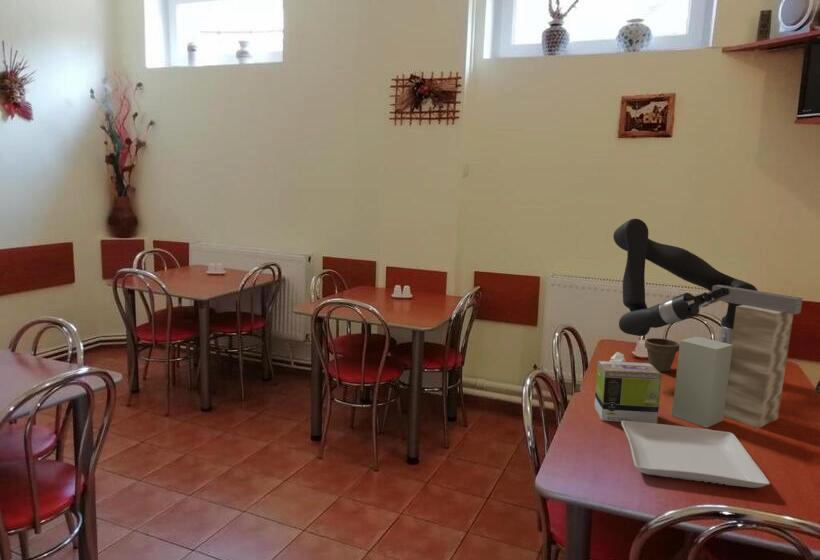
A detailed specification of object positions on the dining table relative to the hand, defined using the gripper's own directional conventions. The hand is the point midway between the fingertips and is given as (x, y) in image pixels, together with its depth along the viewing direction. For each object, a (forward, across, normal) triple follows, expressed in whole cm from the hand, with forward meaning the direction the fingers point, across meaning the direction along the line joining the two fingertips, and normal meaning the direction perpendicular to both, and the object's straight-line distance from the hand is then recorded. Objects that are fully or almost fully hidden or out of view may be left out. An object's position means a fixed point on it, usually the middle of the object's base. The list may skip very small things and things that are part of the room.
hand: (730, 289), depth 169 cm
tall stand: (-9, 0, +35) cm, 37 cm away
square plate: (-6, -42, +38) cm, 57 cm away
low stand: (-16, -14, +31) cm, 38 cm away
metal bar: (+4, 0, +6) cm, 7 cm away
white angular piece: (-36, -17, +20) cm, 45 cm away
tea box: (-27, -31, +26) cm, 48 cm away
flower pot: (-43, +19, +16) cm, 50 cm away
